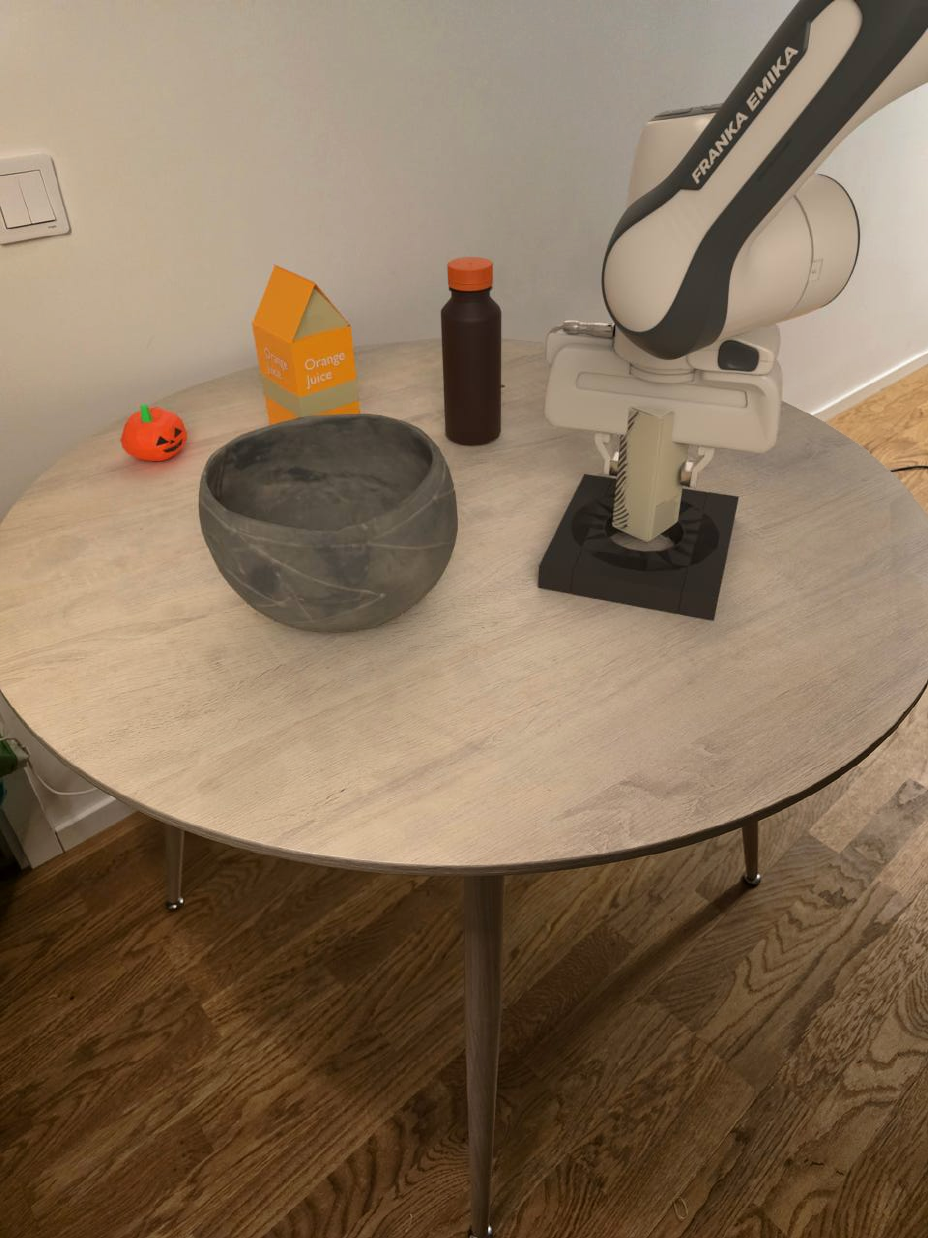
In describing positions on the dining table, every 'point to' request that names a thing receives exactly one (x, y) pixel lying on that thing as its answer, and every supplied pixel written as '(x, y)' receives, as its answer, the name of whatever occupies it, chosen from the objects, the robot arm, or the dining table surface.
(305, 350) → the orange juice
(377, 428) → the bowl
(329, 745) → the dining table surface
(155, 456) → the pumpkin
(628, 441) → the box
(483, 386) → the bottle
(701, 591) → the pad
